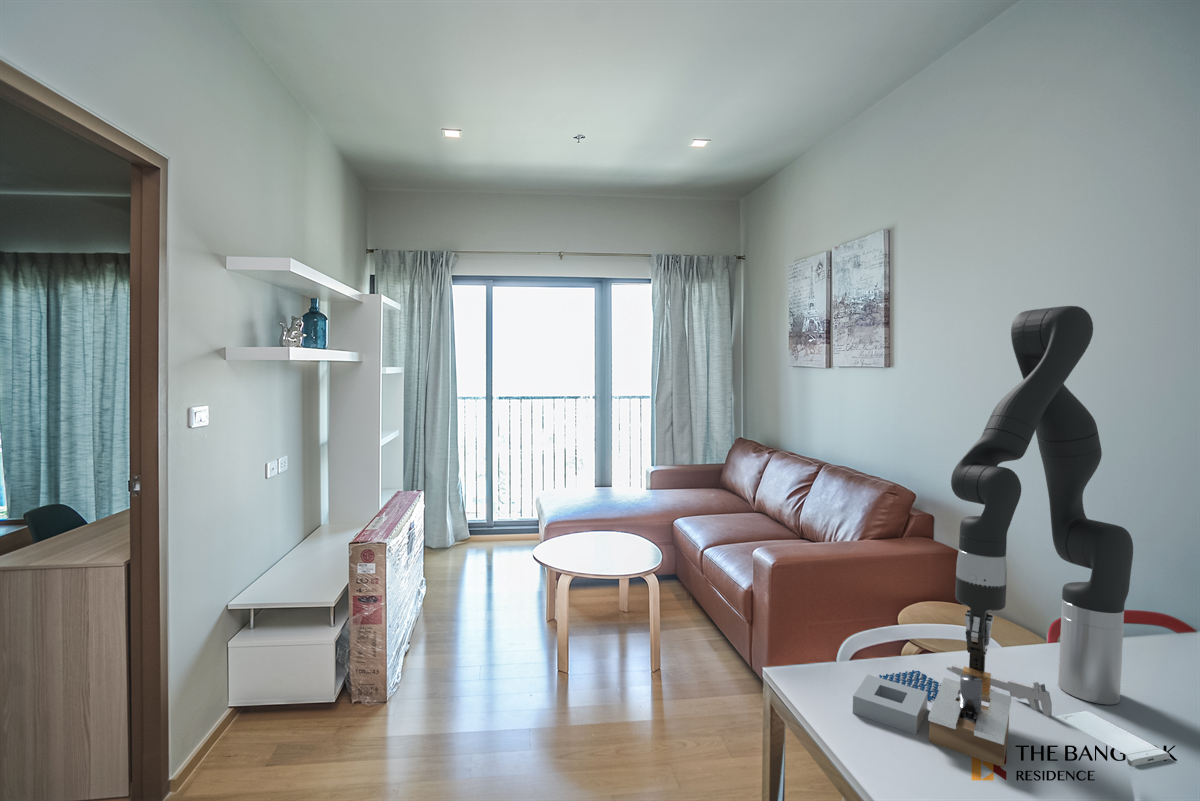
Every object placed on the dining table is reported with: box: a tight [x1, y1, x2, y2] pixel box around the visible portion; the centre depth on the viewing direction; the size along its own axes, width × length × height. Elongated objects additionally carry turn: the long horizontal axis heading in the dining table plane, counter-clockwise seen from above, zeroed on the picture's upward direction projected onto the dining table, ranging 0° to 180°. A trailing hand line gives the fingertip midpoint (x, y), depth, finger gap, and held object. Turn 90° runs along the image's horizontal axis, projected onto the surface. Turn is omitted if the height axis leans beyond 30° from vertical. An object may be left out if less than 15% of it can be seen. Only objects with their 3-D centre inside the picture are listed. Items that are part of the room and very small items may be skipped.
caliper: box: [946, 664, 1053, 718], centre depth 114 cm, size 20×1×6 cm, turn 19°
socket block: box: [928, 697, 1010, 768], centre depth 97 cm, size 10×10×5 cm
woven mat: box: [878, 670, 960, 702], centre depth 114 cm, size 10×11×2 cm
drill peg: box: [959, 674, 983, 723], centre depth 97 cm, size 3×3×10 cm
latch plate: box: [927, 666, 1012, 745], centre depth 98 cm, size 16×10×4 cm, turn 142°
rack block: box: [852, 674, 929, 735], centre depth 105 cm, size 10×10×4 cm
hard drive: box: [1055, 710, 1170, 767], centre depth 100 cm, size 2×8×12 cm
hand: (976, 673), depth 106 cm, fingers closed
